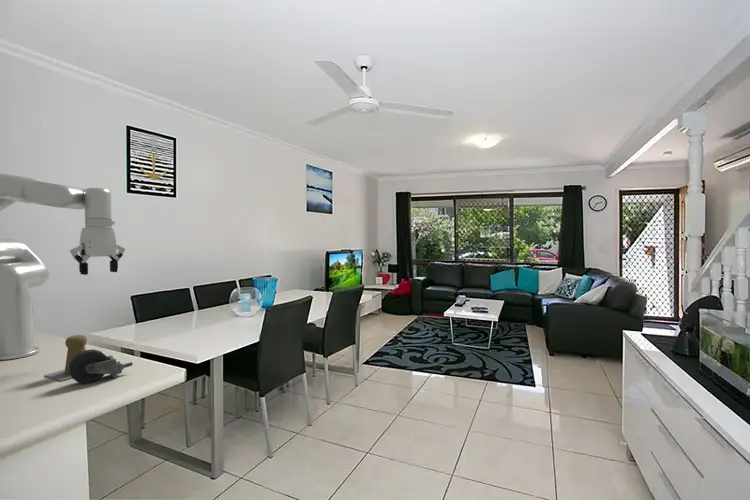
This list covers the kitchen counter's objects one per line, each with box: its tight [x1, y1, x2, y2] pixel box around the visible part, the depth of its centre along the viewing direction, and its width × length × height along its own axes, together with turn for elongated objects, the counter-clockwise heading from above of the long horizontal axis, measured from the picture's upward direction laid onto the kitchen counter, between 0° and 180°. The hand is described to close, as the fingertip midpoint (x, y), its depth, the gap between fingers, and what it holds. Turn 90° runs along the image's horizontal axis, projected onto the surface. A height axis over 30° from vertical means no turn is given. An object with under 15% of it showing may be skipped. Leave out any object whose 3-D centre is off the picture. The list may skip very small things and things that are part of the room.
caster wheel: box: [69, 349, 133, 385], centre depth 113 cm, size 6×10×15 cm
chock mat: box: [43, 369, 72, 382], centre depth 118 cm, size 9×11×1 cm
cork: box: [64, 334, 88, 375], centre depth 118 cm, size 6×6×11 cm
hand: (99, 273), depth 136 cm, fingers open, 9 cm apart
